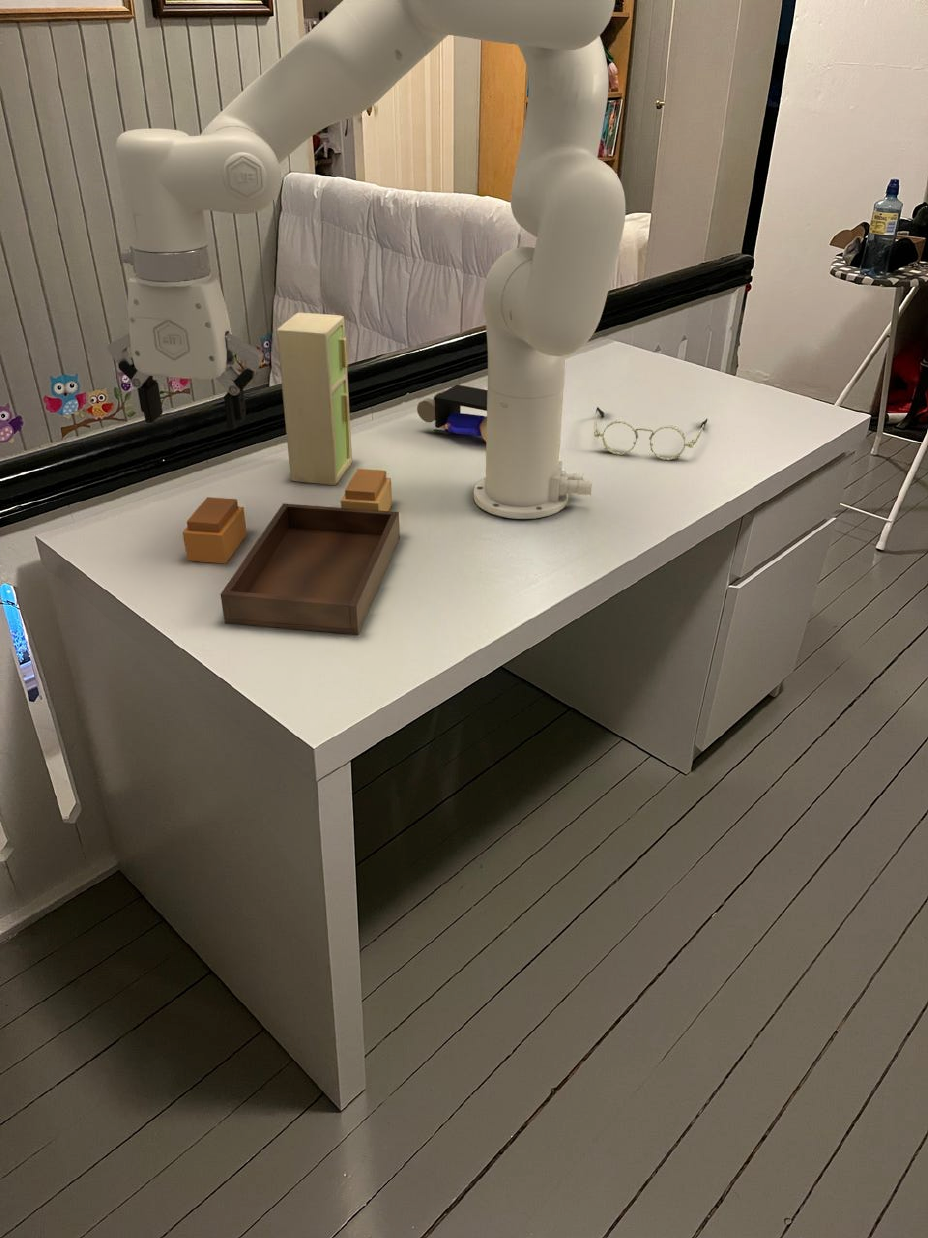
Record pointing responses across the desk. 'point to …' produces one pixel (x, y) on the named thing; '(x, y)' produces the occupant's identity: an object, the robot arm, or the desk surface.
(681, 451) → the round wire eyeglasses
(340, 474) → the toy refrigerator
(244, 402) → the robot arm
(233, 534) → the orange stepped block
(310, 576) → the brown wooden tray
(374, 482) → the stepped wooden block
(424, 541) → the desk surface
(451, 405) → the figurine character
